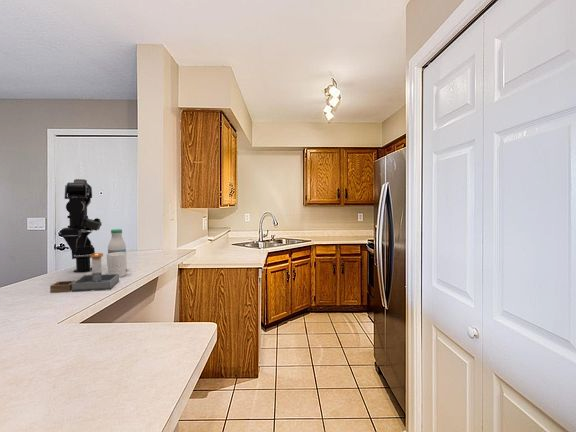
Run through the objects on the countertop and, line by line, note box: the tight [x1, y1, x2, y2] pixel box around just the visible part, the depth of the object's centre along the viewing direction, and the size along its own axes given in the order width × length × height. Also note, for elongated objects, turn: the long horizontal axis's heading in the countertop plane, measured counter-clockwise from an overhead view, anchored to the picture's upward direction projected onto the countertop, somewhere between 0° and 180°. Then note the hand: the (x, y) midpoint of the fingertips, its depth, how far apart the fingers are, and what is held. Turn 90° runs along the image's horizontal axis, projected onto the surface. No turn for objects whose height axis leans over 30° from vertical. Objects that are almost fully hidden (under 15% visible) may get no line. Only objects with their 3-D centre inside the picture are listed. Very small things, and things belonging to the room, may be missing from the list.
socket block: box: [49, 280, 76, 294], centre depth 126 cm, size 6×6×2 cm
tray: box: [71, 274, 120, 293], centre depth 131 cm, size 13×13×3 cm
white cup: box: [106, 252, 127, 278], centre depth 147 cm, size 8×8×10 cm
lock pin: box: [90, 252, 104, 282], centre depth 131 cm, size 4×4×12 cm
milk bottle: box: [107, 228, 128, 271], centre depth 155 cm, size 8×8×20 cm
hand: (78, 250), depth 138 cm, fingers open, 9 cm apart
